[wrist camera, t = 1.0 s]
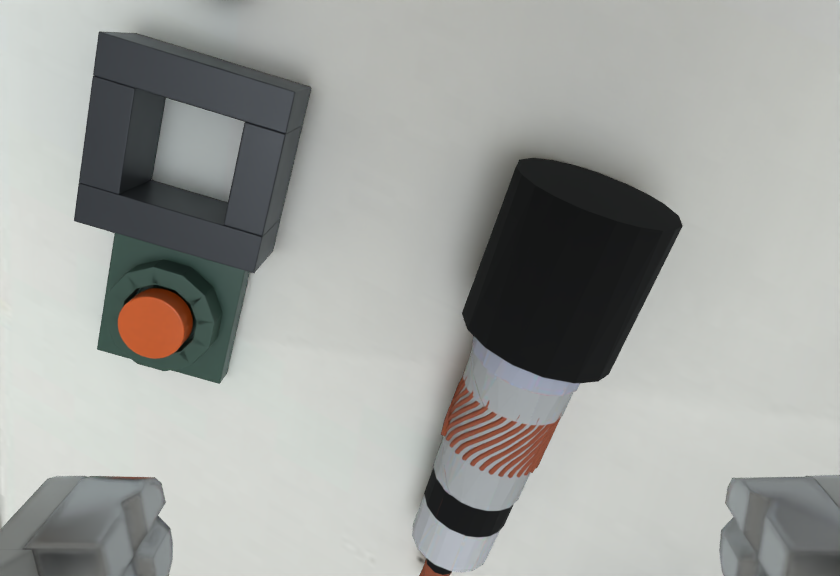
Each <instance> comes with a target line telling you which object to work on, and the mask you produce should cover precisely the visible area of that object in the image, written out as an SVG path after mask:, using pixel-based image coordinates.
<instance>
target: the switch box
mask: <svg viewBox="0 0 840 576" xmlns="http://www.w3.org/2000/svg"><path fill="white" fill-rule="evenodd" d="M248 277H249V272H248V271H245V270H241V269H238V268H234V267H231V266H227V265H224V264H220V263H217V262H214V261H210V260H207V259H203V258H200V257H196V256H193V255H189V254H186V253H183V252H179V251H176V250H172V249H169V248H165V247H162V246H159V245H155V244H152V243H148V242H145V241H141V240H138V239H134V238H131V237H128V236H124V235H121V234H117V233H115V236H114V242H113V249H112V255H111V262H110V268H109V275H108V281H107V288H106V294H105V301H104V307H103V314H102V320H101V327H100V333H99V340H98V346H97V349H98V350H101V351H105V352H108V353H112V354H115V355H119V356H122V357H126V358H130V359H132V360H133V361H134V362H136V363H137V364H140V365H144V366H148V367H151V368H155V369H158V370H162V371H168V370H172V371H176V372H179V373H183V374H187V375H190V376H194V377H197V378H201V379H204V380H208V381H212V382H215V383H219V384H220V383H221V381H222V380H223V378H224V377H225V375H226V374H227V370H228V366H229V361H230V357H231V352H232V348H233V343H234V339H235V335H236V330H237V326H238V321H239V317H240V312H241V308H242V303H243V299H244V295H245V290H246V286H247V281H248ZM152 288H160V289H166V290H169V291H171V292H173V293H175V294H177V295H178V296H179V297H181V298H182V299H183V300H184V301H185V302H186V304H187V305H188V307H189V309H190V311H191V314H192V318H193V328H192V331H191V334H190V336H189V337H188V339H187V340H186V341H185V342H184V343H183V344H182V345H181V347H180V348H179V349H178V350H177V351H176V352H175V353H173V354H172V355H170V356H167V357H164V358H156V359H154V358H147V357H144V356H141V355H139V354H137V353H135V352H134V351H132V350H131V349H130V348H129V347H128V346H127V345H126V344H125V343H124V341H123V340H122V338H121V336H120V333H119V330H118V317H119V313H120V311H121V309H122V308H123V306H124V305H125V304H126V303H127V302H129V301H130V300H131V299H132V298H134V297H135V296H136V295H137V294H139V293H140V292H142V291H144V290H147V289H152Z"/></svg>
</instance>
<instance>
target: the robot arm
mask: <svg viewBox="0 0 840 576" xmlns="http://www.w3.org/2000/svg"><path fill="white" fill-rule="evenodd" d="M165 503H166V502H165V497H164V493H163V488H162V484H161V482H159V481H158V480H157V479H156V478H155V477H109V476H89V477H86V476H56V477H52V478H49V479H47V480H46V481H45V482H44V483H43V484H42V485H41V486H40V487H39V488H38V490H37V491H36V492H35V493H34V494H33V495H32V496H31V497H30V498H29V499H28V500H27V501H26V502H25V504H24V505H23V506H22V507H21V508H20V509H19V510H18V511H17V512H16V513H15V514H14V515H13V516H12V518H11V519H10V520H9V521H8V522H7V523H6V524H5V525H4V526H3V527H2V528H1V529H0V576H169V572H170V568H171V564H172V557H173V542H172V536H171V530H170V527H169V526H168V525H167V524H166V523H165V522H164V521H163V520H162V519H161V518H160V517H159V516H158V514H159V513H160V511H161V509H162V508H163V506H164V504H165ZM725 503H726V505H727V507H728V508H729V510H730V512H731V514H732V515H733V518H732V519H731V520H730V521H729V522H728V524H727V525H726V526H725V527H724V528H723V529H722V530H721V539H720V549H719V551H720V560H721V569H722V573H723V576H840V475H821V476H806V477H759V478H732V480H731V482H730V484H729V486H728V489H727V495H726V501H725Z"/></svg>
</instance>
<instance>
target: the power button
mask: <svg viewBox="0 0 840 576" xmlns="http://www.w3.org/2000/svg"><path fill="white" fill-rule="evenodd" d="M192 328H193V318H192V314H191V311H190V309H189V307H188V305H187V304H186V302H185V301H184V300H183V299H182V298H181V297H179V296H178V295H177V294H175V293H173V292H171V291H169V290H166V289H160V288H152V289H147V290H144V291H142V292H140V293H139V294H137V295H136V296H135V297H134V298H132V299H131V300H130V301H129V302H127V303H126V304H125V305H124V306H123V308H122V309H121V311H120V313H119V317H118V330H119V333H120V336H121V338H122V340H123V341H124V343H125V344H126V345H127V346H128V347H129V348H130V349H131V350H132V351H134V352H135V353H137V354H139V355H141V356H144V357H147V358H154V359H156V358H164V357H167V356H170V355H172V354H173V353H175V352H176V351H177V350H178V349H179V348H180V347H181V345H182V344H183V343H184V342H185V341H186V340H187V339H188V337H189V336H190V334H191V331H192Z"/></svg>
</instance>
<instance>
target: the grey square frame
mask: <svg viewBox="0 0 840 576" xmlns="http://www.w3.org/2000/svg"><path fill="white" fill-rule="evenodd" d="M93 75H94V76H93V80H92V88H91V95H90V103H89V111H88V118H87V126H86V133H85V141H84V148H83V156H82V164H81V171H80V179H79V182H80V183H79V186H78V194H77V202H76V209H75V217H74V221H76V222H79V223H83V224H86V225H90V226H93V227H97V228H100V229H103V230H107V231H110V232H114V233H117V234H121V235H124V236H128V237H131V238H134V239H138V240H141V241H145V242H148V243H152V244H155V245H159V246H162V247H165V248H169V249H172V250H176V251H179V252H183V253H186V254H189V255H193V256H196V257H200V258H203V259H207V260H210V261H214V262H217V263H220V264H224V265H227V266H231V267H234V268H238V269H241V270H245V271H248V272H251V273H254V272H255V271H256V270H257V269H258V268H259V267H260V266H261V264H262V263H263V262H264V261H265V260H266V259H267V257H268V256H269V255H270V254H271V253H272V252H273V249H274V245H275V240H276V236H277V232H278V228H279V223H280V218H281V215H282V210H283V206H284V202H285V198H286V193H287V189H288V185H289V181H290V176H291V172H292V168H293V164H294V159H295V155H296V151H297V147H298V142H299V138H300V134H301V129H302V125H303V121H304V117H305V113H306V108H307V104H308V100H309V96H310V91H311V87H309V86H306V85H303V84H299V83H296V82H293V81H290V80H286V79H283V78H280V77H277V76H273V75H270V74H267V73H264V72H261V71H257V70H254V69H251V68H248V67H244V66H241V65H238V64H235V63H231V62H228V61H225V60H222V59H218V58H215V57H212V56H209V55H205V54H202V53H199V52H196V51H192V50H189V49H186V48H183V47H179V46H176V45H173V44H170V43H166V42H163V41H160V40H157V39H153V38H150V37H147V36H144V35H140V34H137V33H119V32H99V35H98V43H97V50H96V58H95V65H94V73H93ZM165 97H166V98H169V99H172V100H176V101H179V102H182V103H186V104H189V105H192V106H196V107H199V108H202V109H205V110H209V111H212V112H215V113H219V114H222V115H225V116H228V117H232V118H235V119H238V120H242V121H245V123H244V128H243V133H242V138H241V143H240V147H239V152H238V157H237V162H236V167H235V172H234V176H233V181H232V186H231V191H230V196H229V201H228V203H227V202H224V201H220V200H217V199H213V198H210V197H207V196H203V195H200V194H197V193H193V192H190V191H186V190H183V189H180V188H176V187H173V186H170V185H166V184H163V183H159V182H156V181H153V180H151V179H152V174H153V168H154V162H155V156H156V150H157V144H158V139H159V133H160V127H161V121H162V115H163V109H164V103H165Z"/></svg>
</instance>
